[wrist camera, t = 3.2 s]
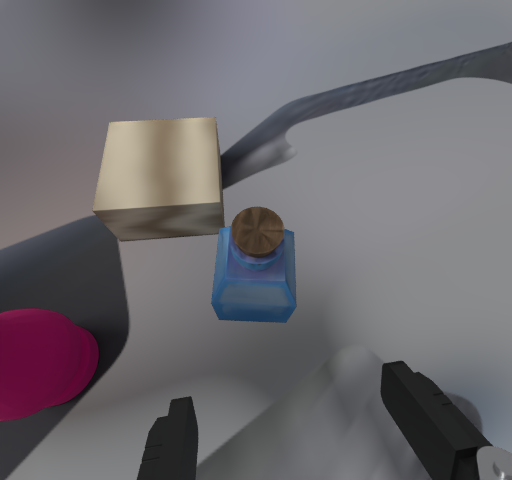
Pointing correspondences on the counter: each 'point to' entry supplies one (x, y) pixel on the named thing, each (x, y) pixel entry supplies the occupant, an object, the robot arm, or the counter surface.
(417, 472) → the counter surface
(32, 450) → the counter surface
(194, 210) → the birch block
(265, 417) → the counter surface
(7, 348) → the pepper mill
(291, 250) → the perfume bottle
